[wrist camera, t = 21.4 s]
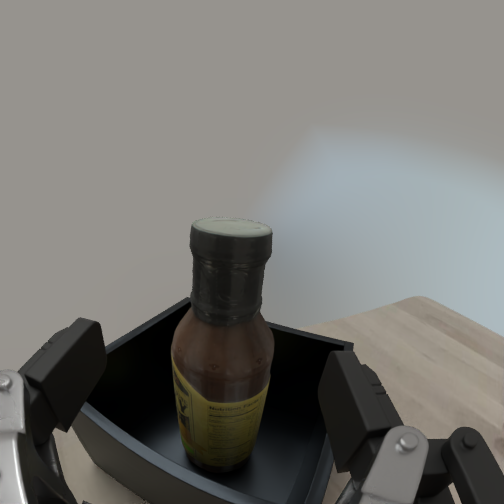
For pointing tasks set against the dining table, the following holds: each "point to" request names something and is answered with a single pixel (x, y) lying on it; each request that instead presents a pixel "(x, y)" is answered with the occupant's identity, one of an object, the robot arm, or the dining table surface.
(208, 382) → the sauce bottle
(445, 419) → the dining table surface
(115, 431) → the black open storage bin
